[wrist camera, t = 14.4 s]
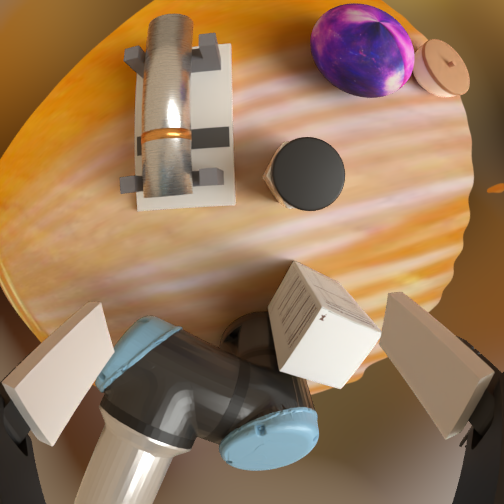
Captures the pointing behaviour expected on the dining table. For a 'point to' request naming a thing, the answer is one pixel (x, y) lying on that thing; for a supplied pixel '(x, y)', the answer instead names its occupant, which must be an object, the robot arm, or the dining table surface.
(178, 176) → the steel tube
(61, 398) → the robot arm
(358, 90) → the decorative orb
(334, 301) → the supplement box
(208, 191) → the cradle stand
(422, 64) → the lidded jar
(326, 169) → the jar
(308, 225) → the dining table surface
